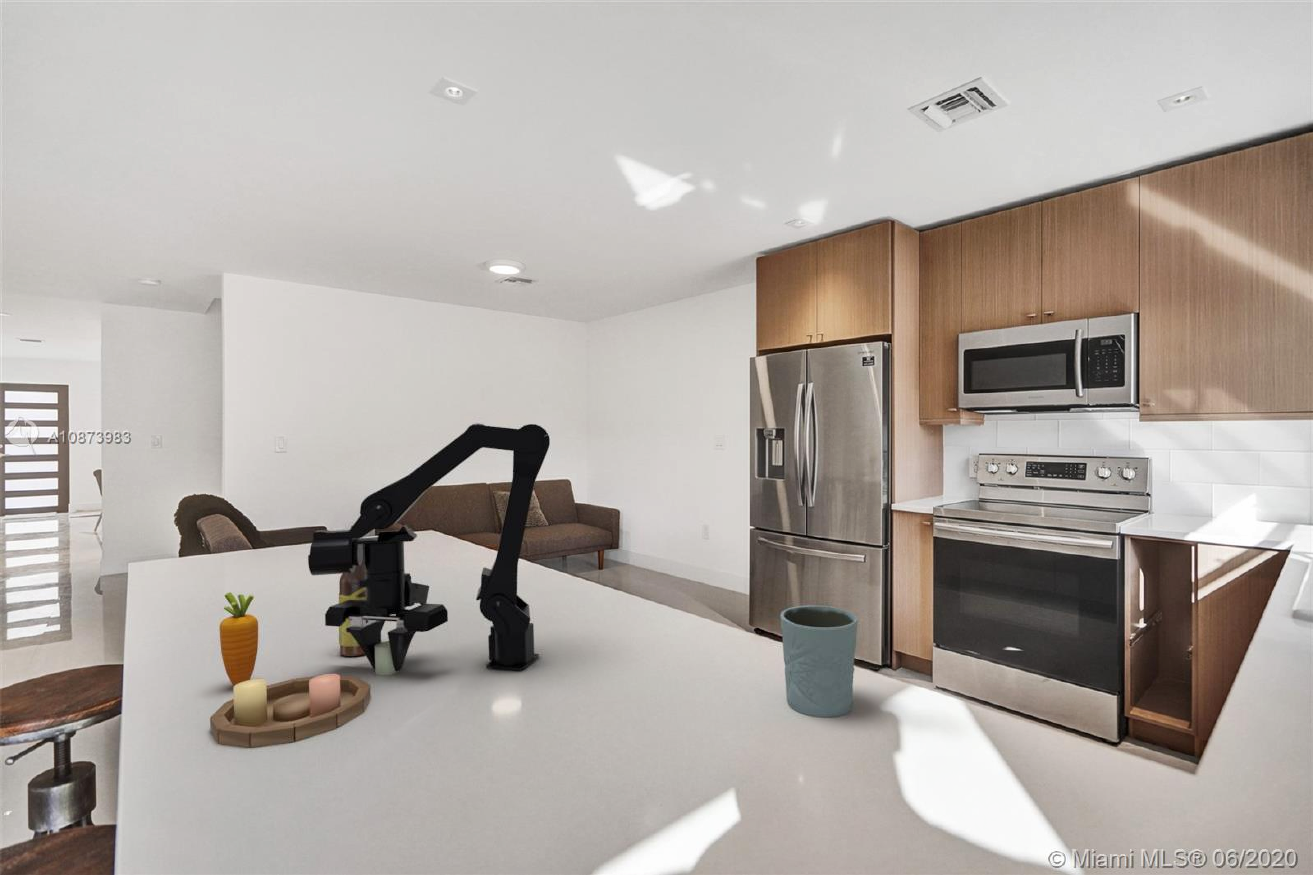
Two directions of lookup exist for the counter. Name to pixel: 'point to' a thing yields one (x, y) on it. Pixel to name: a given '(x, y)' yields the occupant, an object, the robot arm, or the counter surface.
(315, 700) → the bead coral
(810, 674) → the teal embossed cup
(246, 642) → the carrot
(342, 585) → the sauce bottle
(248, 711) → the bead mustard
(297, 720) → the groove tray
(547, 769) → the counter surface
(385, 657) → the bead sage
